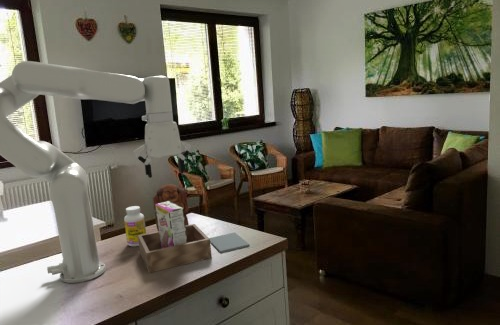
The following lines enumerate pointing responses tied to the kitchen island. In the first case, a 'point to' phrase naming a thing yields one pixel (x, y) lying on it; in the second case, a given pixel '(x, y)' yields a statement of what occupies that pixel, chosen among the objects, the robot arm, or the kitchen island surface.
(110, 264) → the kitchen island surface
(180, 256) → the open wooden crate
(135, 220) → the supplement bottle
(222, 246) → the grey mat
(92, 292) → the kitchen island surface
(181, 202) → the wooden figurine
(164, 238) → the candy bar box
